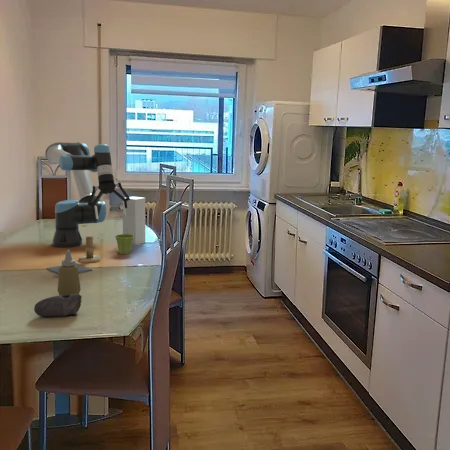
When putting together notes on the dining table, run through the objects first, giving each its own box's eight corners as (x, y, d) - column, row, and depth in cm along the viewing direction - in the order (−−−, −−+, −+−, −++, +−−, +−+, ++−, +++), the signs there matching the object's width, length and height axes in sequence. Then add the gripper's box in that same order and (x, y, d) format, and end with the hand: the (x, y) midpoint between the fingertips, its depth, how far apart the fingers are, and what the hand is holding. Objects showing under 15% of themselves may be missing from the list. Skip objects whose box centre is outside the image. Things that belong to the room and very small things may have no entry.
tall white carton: (122, 243, 278) (122, 197, 274) (132, 240, 286) (132, 196, 281) (135, 245, 274) (135, 199, 270) (145, 242, 282) (145, 197, 277)
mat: (46, 269, 223) (46, 267, 222) (75, 264, 232) (75, 262, 232) (62, 276, 213) (62, 274, 213) (91, 270, 223) (91, 269, 223)
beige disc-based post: (74, 259, 241) (74, 236, 239) (93, 256, 248) (93, 233, 246) (85, 263, 234) (85, 240, 232) (104, 260, 241) (104, 237, 239)
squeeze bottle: (60, 295, 189) (59, 247, 186) (82, 295, 190) (82, 248, 186) (55, 302, 181) (53, 253, 178) (78, 302, 182) (77, 253, 178)
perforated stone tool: (33, 320, 164) (33, 299, 163) (34, 314, 169) (34, 294, 168) (82, 316, 168) (81, 296, 167) (81, 311, 173) (81, 291, 172)
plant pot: (130, 255, 252) (130, 238, 250) (112, 254, 253) (112, 237, 252) (137, 251, 261) (137, 234, 259) (119, 250, 262) (119, 233, 261)
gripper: (78, 176, 248) (84, 219, 245) (130, 169, 251) (136, 211, 248) (81, 180, 255) (86, 222, 252) (131, 173, 258) (137, 214, 255)
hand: (111, 217), depth 250 cm, fingers open, 13 cm apart
